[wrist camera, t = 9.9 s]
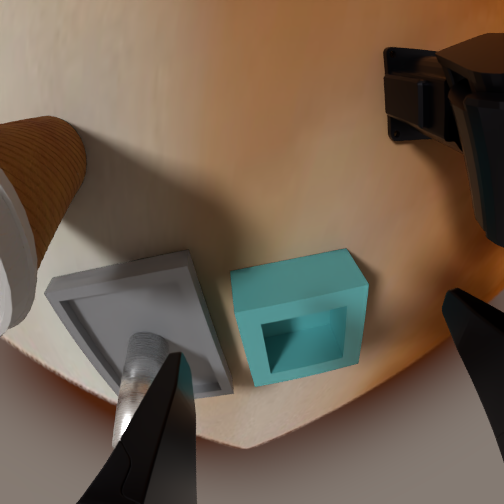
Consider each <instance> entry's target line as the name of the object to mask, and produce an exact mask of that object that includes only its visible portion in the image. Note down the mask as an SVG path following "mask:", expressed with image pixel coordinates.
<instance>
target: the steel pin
mask: <svg viewBox="0 0 504 504" xmlns="http://www.w3.org/2000/svg"><path fill="white" fill-rule="evenodd" d="M168 350H169V346H168V343H167V341H166V340H165V339H164V338H163V337H161V336H160V335H158V334H155V333H152V332H137V333H135V334H133V335H132V336H131V337H130V338H129V341H128V346H127V351H126V356H125V362H124V367H123V373H122V378H121V384H120V390H119V396H118V403H117V410H116V417H115V424H114V432H113V440H112V447H113V448H115V447H116V445H117V443H118V441H119V440H120V438H121V436H122V434H123V433H124V431H125V429H126V427H127V425H128V424H129V422H130V420H131V418H132V417H133V415H134V413H135V411H136V410H137V408H138V406H139V404H140V403H141V401H142V399H143V397H144V396H145V394H146V392H147V390H148V389H149V387H150V385H151V383H152V382H153V380H154V378H155V376H156V375H157V373H158V371H159V370H160V368H161V366H162V364H163V363H164V361H165V359H166V358H167V356H168Z"/></svg>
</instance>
